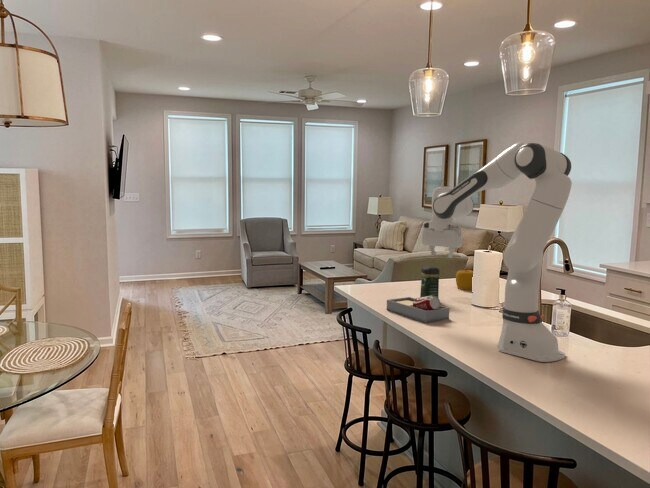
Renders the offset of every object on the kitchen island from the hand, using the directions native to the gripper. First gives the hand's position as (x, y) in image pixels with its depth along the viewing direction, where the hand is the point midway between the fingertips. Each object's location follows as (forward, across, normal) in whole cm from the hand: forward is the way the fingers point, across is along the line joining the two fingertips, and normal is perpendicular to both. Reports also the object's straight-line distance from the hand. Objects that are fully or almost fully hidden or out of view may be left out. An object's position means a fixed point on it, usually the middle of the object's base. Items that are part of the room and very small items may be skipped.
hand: (441, 256), depth 211 cm
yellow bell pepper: (+27, +35, -56) cm, 71 cm away
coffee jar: (+27, +25, -18) cm, 41 cm away
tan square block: (+26, +17, +4) cm, 31 cm away
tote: (+27, +10, +4) cm, 29 cm away
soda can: (+22, +10, +4) cm, 25 cm away
